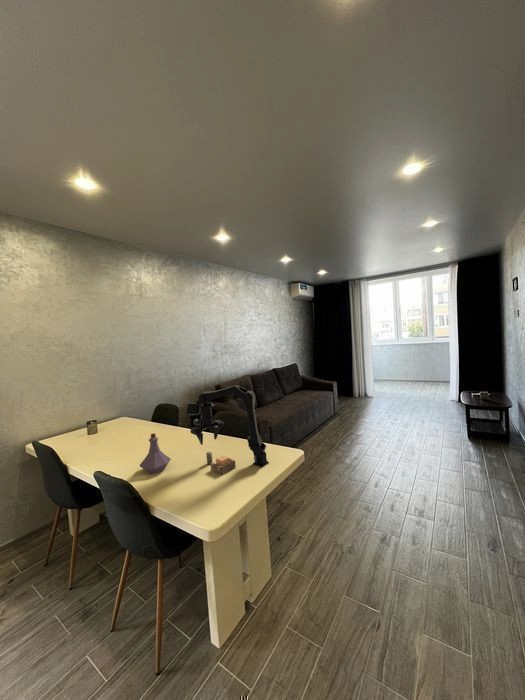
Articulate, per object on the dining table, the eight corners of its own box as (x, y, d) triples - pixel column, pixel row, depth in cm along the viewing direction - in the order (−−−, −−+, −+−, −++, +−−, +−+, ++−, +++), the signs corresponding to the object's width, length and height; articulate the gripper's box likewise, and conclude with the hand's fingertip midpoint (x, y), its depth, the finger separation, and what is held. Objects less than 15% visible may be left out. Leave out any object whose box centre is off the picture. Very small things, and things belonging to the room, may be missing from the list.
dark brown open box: (235, 467, 142) (235, 460, 142) (221, 475, 135) (221, 467, 135) (225, 463, 148) (224, 456, 148) (210, 470, 141) (210, 463, 141)
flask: (140, 467, 152) (137, 432, 151) (171, 460, 158) (168, 427, 157) (138, 480, 136) (135, 441, 136) (172, 472, 142) (169, 435, 142)
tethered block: (230, 468, 142) (229, 457, 142) (222, 472, 138) (221, 461, 138) (211, 461, 153) (211, 450, 153) (204, 464, 149) (203, 453, 149)
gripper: (211, 409, 162) (213, 434, 162) (184, 416, 149) (186, 444, 149) (223, 411, 154) (225, 438, 155) (195, 419, 141) (197, 448, 141)
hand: (208, 442), depth 150 cm, fingers open, 9 cm apart
